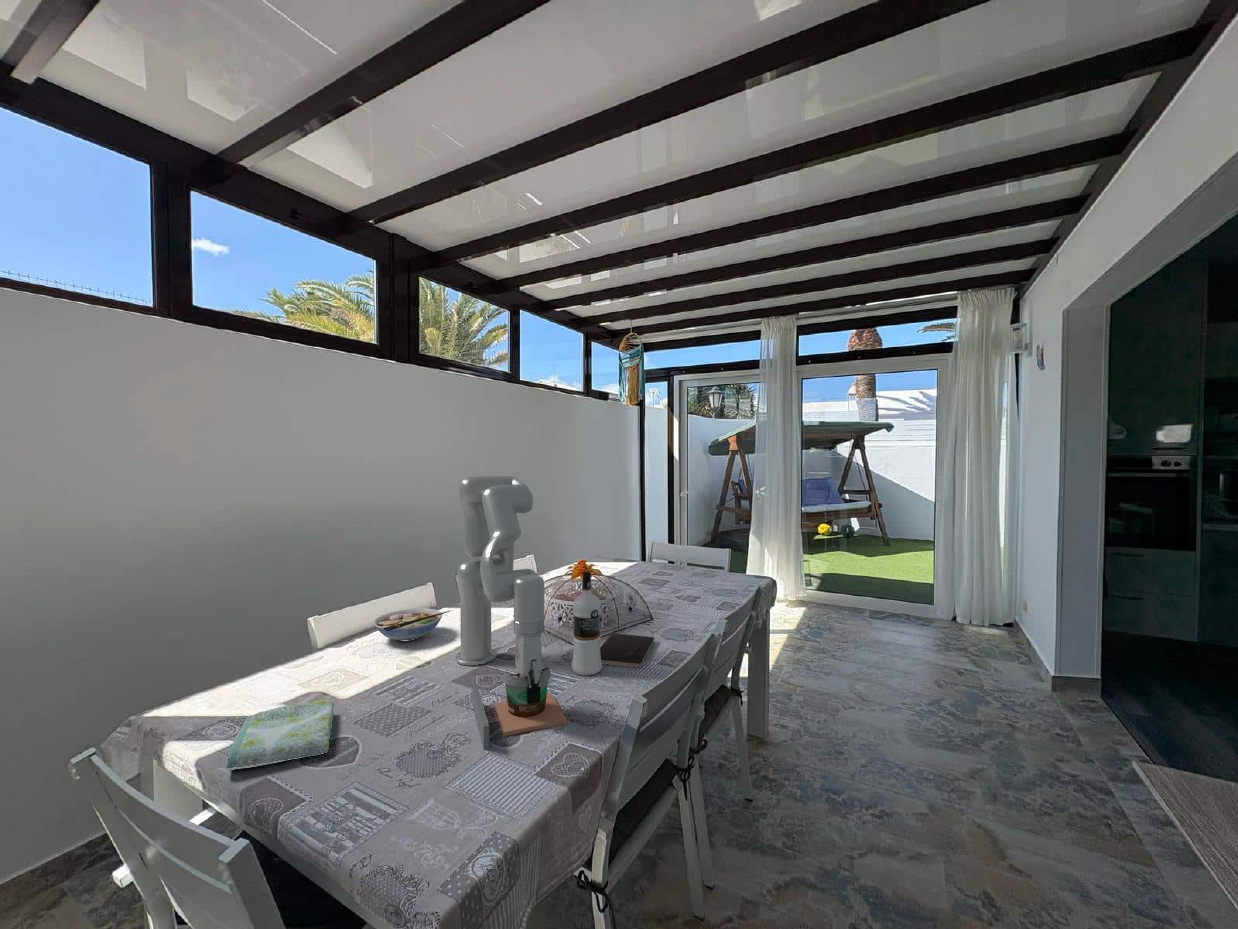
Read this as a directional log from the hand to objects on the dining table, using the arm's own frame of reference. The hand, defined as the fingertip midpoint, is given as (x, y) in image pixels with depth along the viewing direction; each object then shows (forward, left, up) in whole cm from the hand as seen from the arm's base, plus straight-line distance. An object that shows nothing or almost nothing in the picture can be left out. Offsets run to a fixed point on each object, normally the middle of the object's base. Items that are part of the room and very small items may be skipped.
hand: (529, 693), depth 127 cm
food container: (+1, 0, -4) cm, 5 cm away
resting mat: (0, 0, -5) cm, 5 cm away
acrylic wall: (0, -12, -5) cm, 13 cm away
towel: (-9, -54, -6) cm, 55 cm away
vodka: (-20, +22, -5) cm, 30 cm away
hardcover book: (-29, +38, -6) cm, 48 cm away
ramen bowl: (-70, -28, -6) cm, 76 cm away
